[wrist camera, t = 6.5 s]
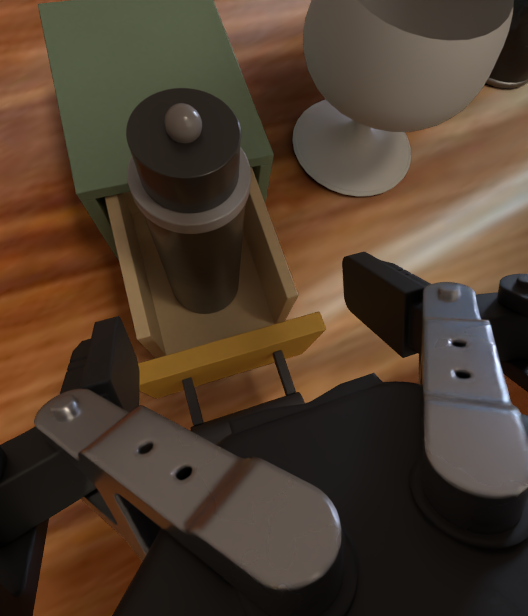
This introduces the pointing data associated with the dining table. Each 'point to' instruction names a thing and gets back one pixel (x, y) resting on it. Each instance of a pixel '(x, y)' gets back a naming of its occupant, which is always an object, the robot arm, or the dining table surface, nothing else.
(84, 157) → the cabinet
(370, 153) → the chalice
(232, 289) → the pepper mill
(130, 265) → the drawer
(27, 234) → the dining table surface
